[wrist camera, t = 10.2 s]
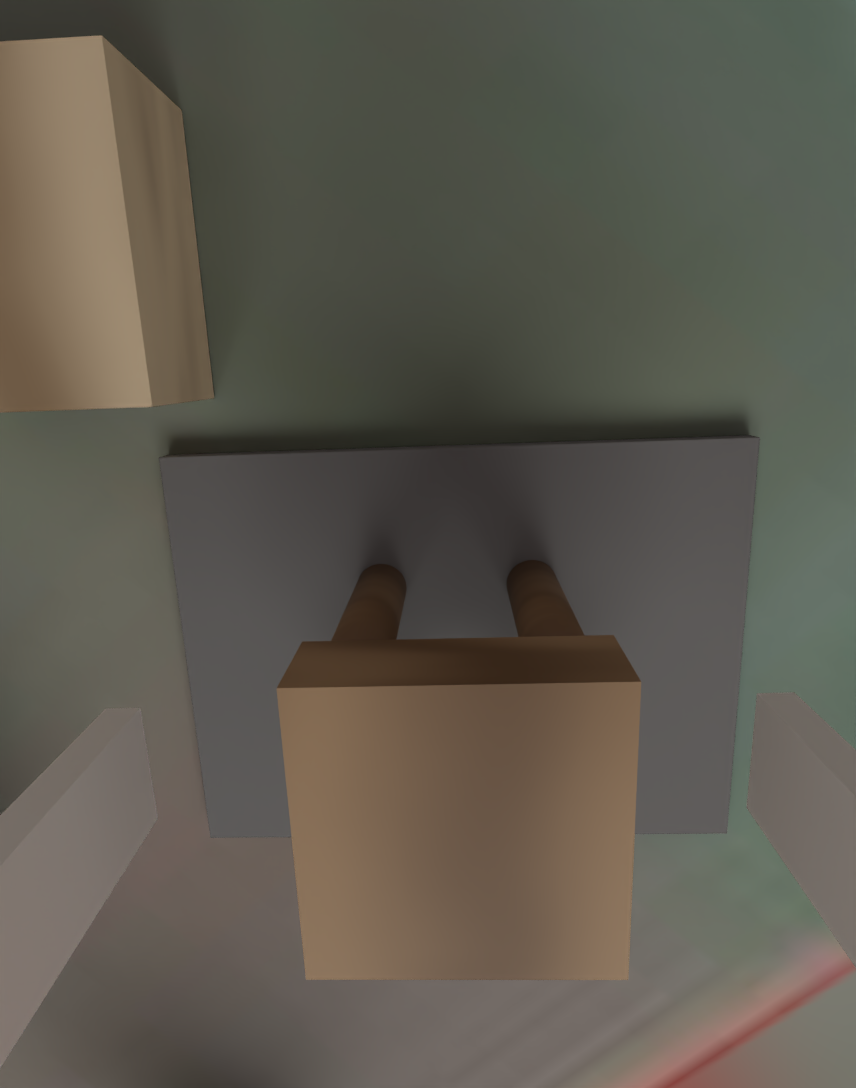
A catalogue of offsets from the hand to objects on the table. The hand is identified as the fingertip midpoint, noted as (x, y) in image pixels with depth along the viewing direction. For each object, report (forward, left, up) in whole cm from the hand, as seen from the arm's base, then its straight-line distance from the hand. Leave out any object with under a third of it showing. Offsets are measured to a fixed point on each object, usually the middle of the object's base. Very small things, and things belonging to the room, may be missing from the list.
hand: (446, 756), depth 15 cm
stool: (0, 0, -5) cm, 5 cm away
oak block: (-10, +11, -6) cm, 16 cm away
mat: (0, 0, -6) cm, 6 cm away
